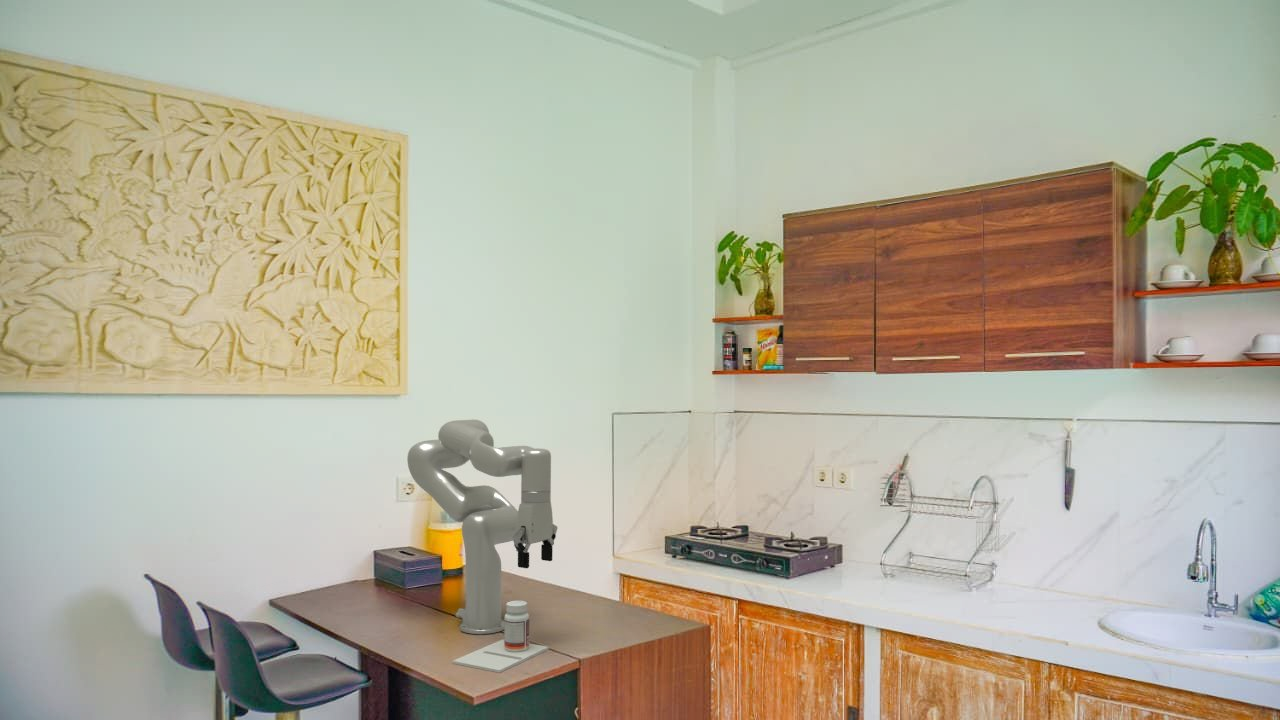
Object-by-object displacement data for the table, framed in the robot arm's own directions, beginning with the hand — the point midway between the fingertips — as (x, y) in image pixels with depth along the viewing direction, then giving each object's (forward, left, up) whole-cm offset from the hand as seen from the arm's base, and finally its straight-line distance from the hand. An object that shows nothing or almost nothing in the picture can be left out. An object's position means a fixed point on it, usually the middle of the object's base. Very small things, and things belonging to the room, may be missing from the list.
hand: (535, 563), depth 233 cm
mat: (-1, -13, -20) cm, 24 cm away
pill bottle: (0, -8, -20) cm, 21 cm away
